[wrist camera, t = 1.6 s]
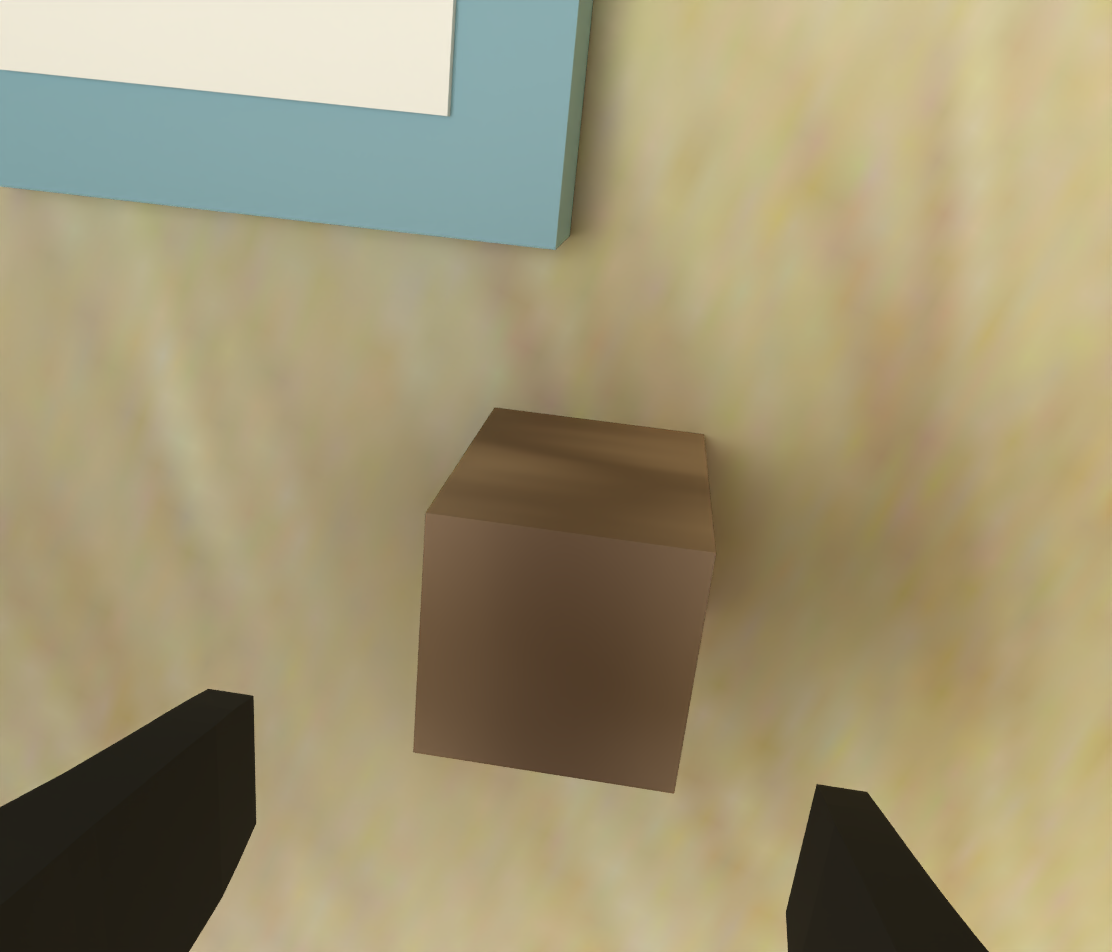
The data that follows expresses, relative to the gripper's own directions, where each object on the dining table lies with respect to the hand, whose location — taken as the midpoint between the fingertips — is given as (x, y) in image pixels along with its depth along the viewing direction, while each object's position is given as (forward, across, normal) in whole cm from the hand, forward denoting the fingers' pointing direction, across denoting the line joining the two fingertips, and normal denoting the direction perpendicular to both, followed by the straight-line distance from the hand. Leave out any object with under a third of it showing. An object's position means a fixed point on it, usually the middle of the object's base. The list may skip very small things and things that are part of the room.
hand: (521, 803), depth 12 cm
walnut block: (+10, 0, 0) cm, 10 cm away
